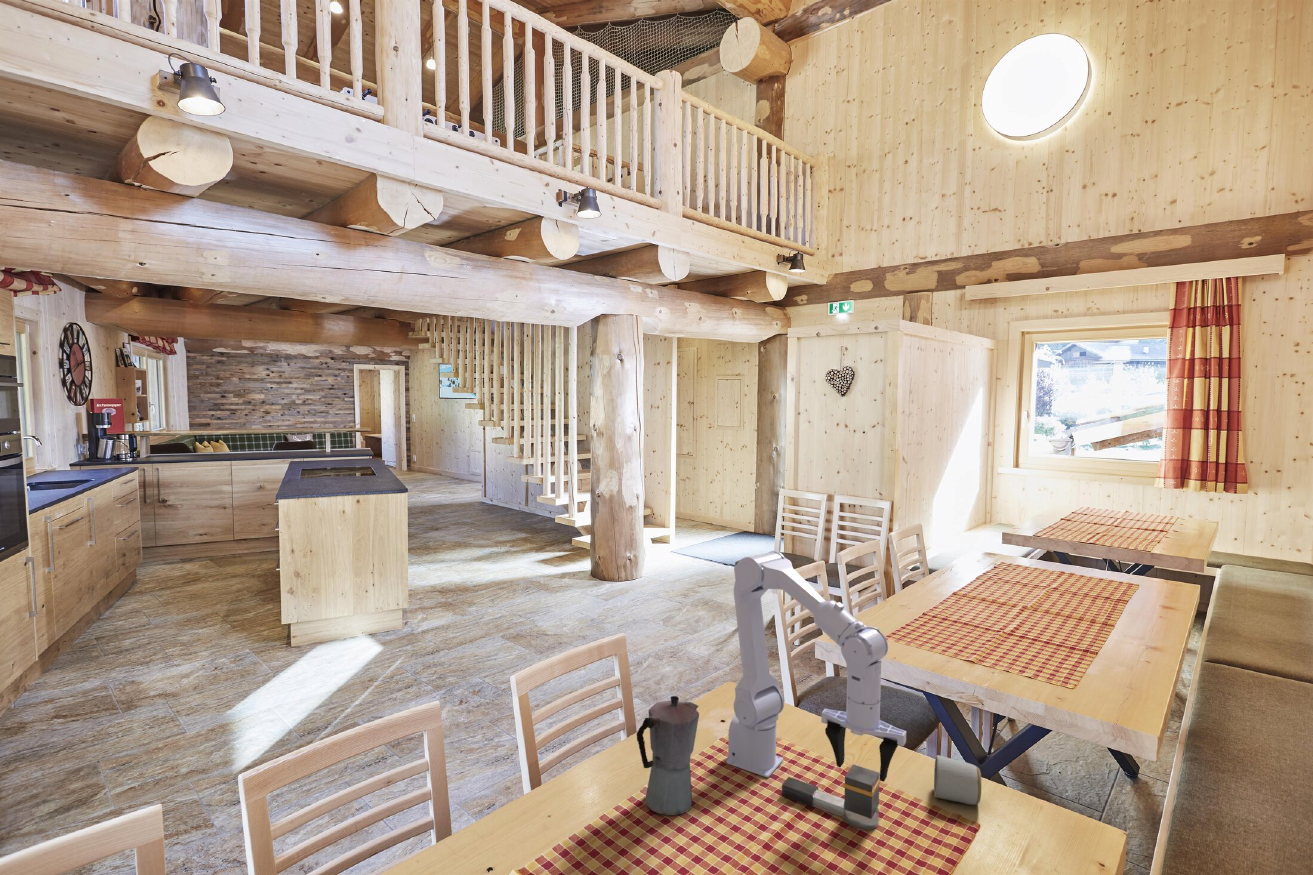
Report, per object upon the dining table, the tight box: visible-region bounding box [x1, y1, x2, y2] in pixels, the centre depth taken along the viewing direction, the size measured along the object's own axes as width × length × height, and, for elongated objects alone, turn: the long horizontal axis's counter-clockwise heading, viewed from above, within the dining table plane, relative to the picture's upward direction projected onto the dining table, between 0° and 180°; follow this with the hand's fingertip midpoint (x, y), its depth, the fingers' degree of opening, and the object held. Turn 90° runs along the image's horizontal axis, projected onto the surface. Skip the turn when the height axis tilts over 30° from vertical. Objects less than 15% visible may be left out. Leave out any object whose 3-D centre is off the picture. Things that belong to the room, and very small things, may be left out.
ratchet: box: [781, 776, 880, 831], centre depth 118 cm, size 18×6×5 cm, turn 56°
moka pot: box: [636, 695, 700, 816], centre depth 118 cm, size 10×15×20 cm, turn 137°
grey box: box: [843, 764, 881, 819], centre depth 115 cm, size 5×5×6 cm
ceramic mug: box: [933, 754, 982, 806], centre depth 122 cm, size 10×8×7 cm
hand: (861, 771), depth 114 cm, fingers open, 7 cm apart
